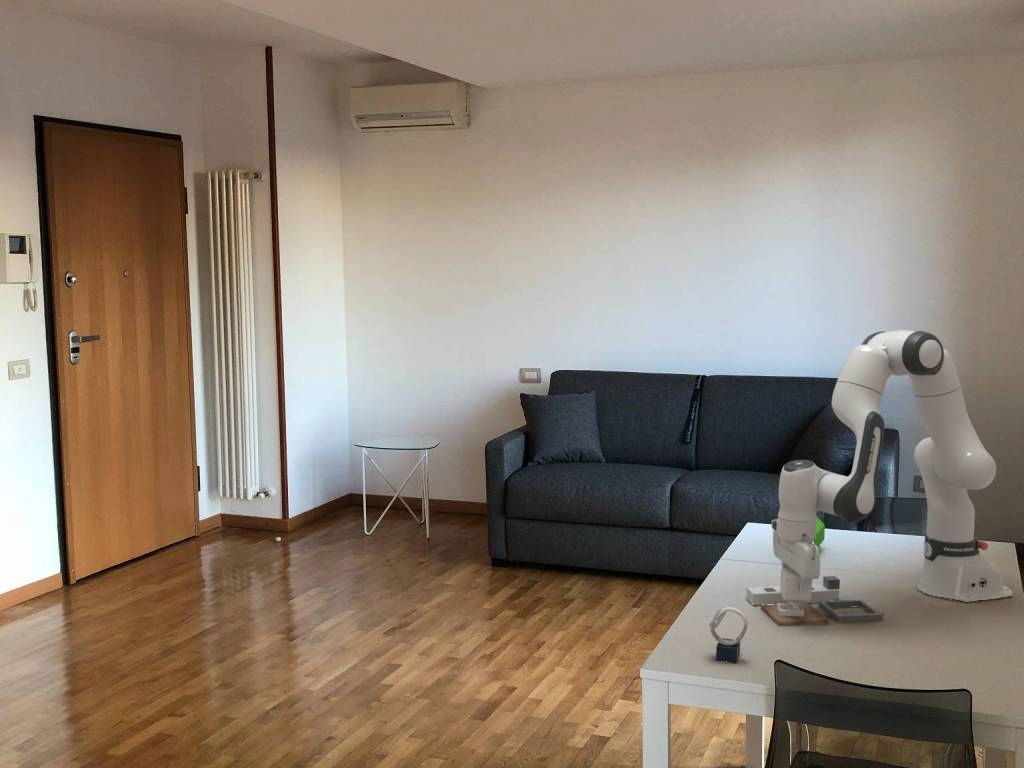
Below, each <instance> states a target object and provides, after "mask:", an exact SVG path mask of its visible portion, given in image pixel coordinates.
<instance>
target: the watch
mask: <svg viewBox="0 0 1024 768" xmlns="http://www.w3.org/2000/svg"><path fill="white" fill-rule="evenodd" d="M727 612H733V613H735V614H737V615H739V616H740V617H741V619H742V620H743V623H744V625H743V629H742V630H741V632H740V633H739V635H738V636H736V638H735V639H733V638H724V637H723V638H722V637H720V636H719V635H718V633H717V632H716V631H715V629H717V628H718V627H719V625H720V623H721V622H722V621H723V618H724V617H725V615H726V613H727ZM748 622H749V621H748V619H747V615H746V614H745V613H744V612H743V611H742V610H741V609H739V608H738V607H735V606H730V605H729V606H728V605H727V606H724V607H722V606H721V607H720V608H719V609H718V610H717V612H716V613H715V614H714V616H713V618H712V619H711V621H710V623H709V628H710V630H709V631H710V634H711V635H712V637H713V639H714V640H715V641H716V642H717V645H716V649H715V652H716V653H715V661H716V662H721V661H724V662H723V663H729V662H733V663H732V664H738V661H739V658H740V654H741V641H742V639H743V638H744V637H745V634H746V632H747V629H748V627H749V625H748ZM737 660H738V661H737ZM726 661H727V662H726Z"/></svg>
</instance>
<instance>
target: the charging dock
mask: <svg viewBox="0 0 1024 768" xmlns="http://www.w3.org/2000/svg"><path fill="white" fill-rule="evenodd" d="M851 606H860V607H862V608H863V609H864V610H863V609H862V608H861V609H862V610H863V611H864V612H866V613H853V614H852V613H851V614H850V613H849V614H848V613H847V614H840V613H839V612H838V611H836V610H835V609H837V607H844V608H852V607H851ZM860 607H859V608H860ZM818 608H819V609H820V610H822V612H823V613H825V614H827V615H828V616H829V617H830V618H832V619H833V620H834V621H835V622H836V623H856V622H857V621H863V622H879V620H882V621H884V620H883V617H884V616H883V615H884V614H883V613H881V611H878V610H877V609H876V608H875V607H873V606H872V605H870V604H869V602H866V601H865V600H863V599H842V600H840V599H839V600H837V601H834V600H829V601H819V603H818ZM867 612H868V613H867ZM857 623H858V622H857Z"/></svg>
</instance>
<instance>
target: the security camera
mask: <svg viewBox="0 0 1024 768" xmlns="http://www.w3.org/2000/svg"><path fill="white" fill-rule="evenodd" d="M800 583H801V579H800V575H799V574H798V573H797V572H795V571H794V570H793V569H789V568H782V567H781V568H780V586H781V587H780V592H781V595H782V597H783V599H784V601H786V600H787V601H788V602H789V603H790V604H786V603H777V610H778V612H779V614H780V616H804V610H803V608H802V607H801V605H800V604H796V603H795V602H794V601H793V600H809V601H811V594H812V585H813V579H811V582H810V584H809V586H808V593H801V592H800V591H799V584H800Z"/></svg>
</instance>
